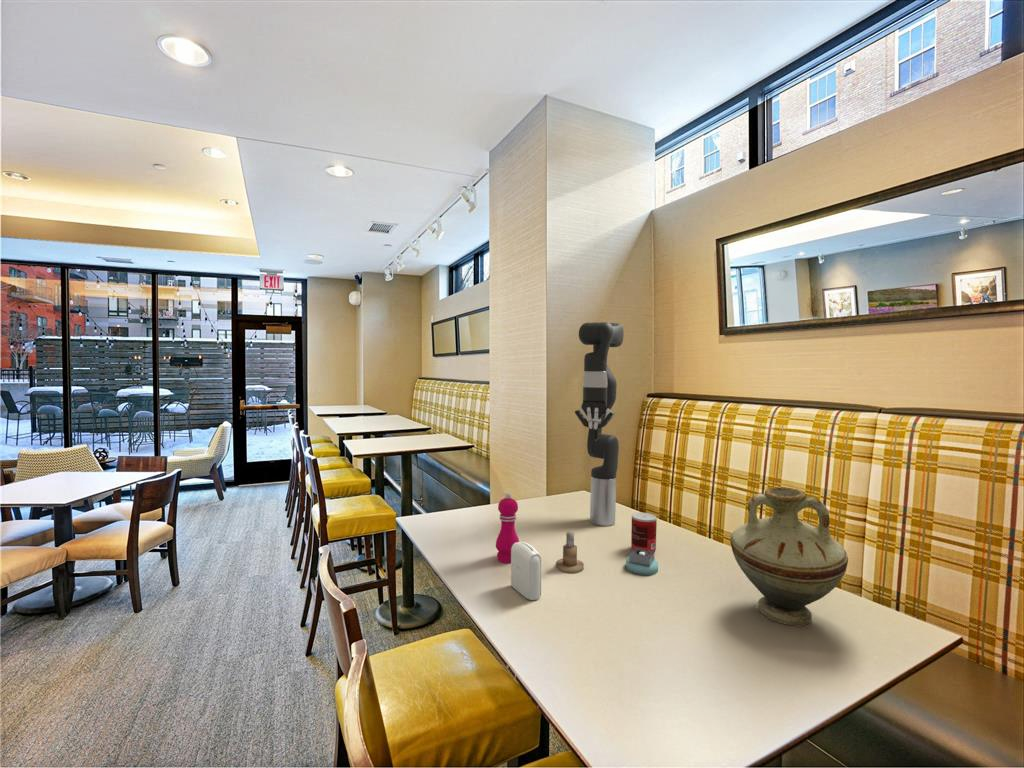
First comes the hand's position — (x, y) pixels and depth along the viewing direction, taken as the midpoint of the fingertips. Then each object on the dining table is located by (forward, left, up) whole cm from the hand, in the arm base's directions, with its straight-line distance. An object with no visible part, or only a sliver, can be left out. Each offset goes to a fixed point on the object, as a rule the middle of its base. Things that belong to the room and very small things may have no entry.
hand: (594, 440), depth 146 cm
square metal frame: (+16, +8, -33) cm, 37 cm away
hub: (+16, +8, -35) cm, 39 cm away
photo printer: (+21, -29, -35) cm, 50 cm away
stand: (+10, -12, -35) cm, 38 cm away
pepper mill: (0, -28, -35) cm, 45 cm away
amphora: (+47, +27, -35) cm, 65 cm away
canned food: (+4, +16, -35) cm, 39 cm away
